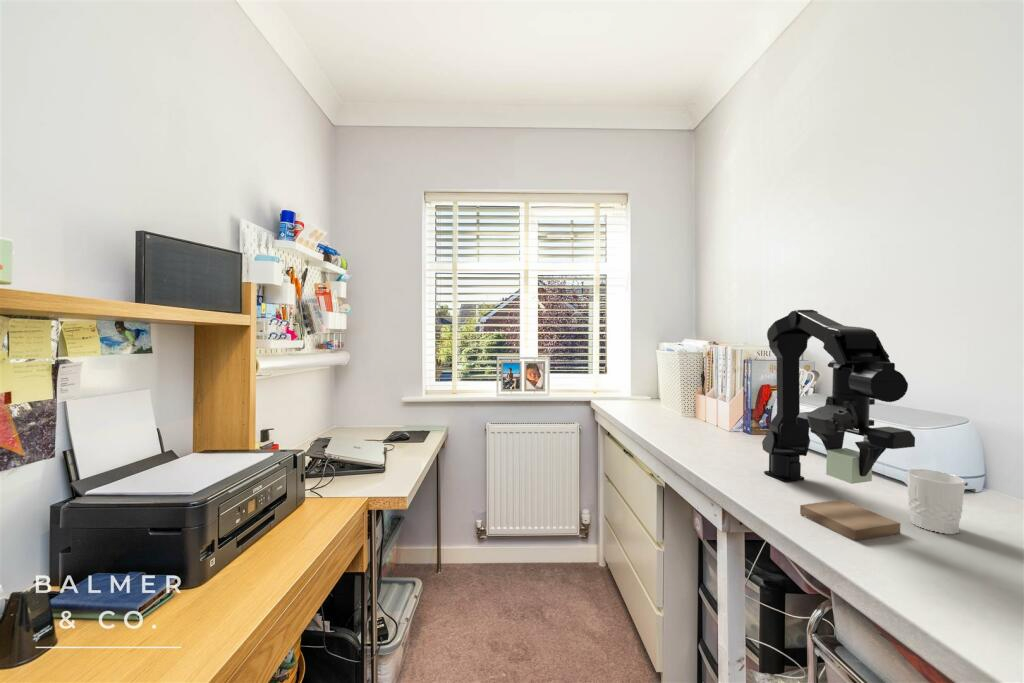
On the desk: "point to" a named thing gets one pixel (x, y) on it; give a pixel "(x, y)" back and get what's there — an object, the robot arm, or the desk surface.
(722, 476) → the desk surface
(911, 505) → the white cup
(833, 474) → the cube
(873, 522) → the base slab
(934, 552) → the desk surface
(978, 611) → the desk surface
